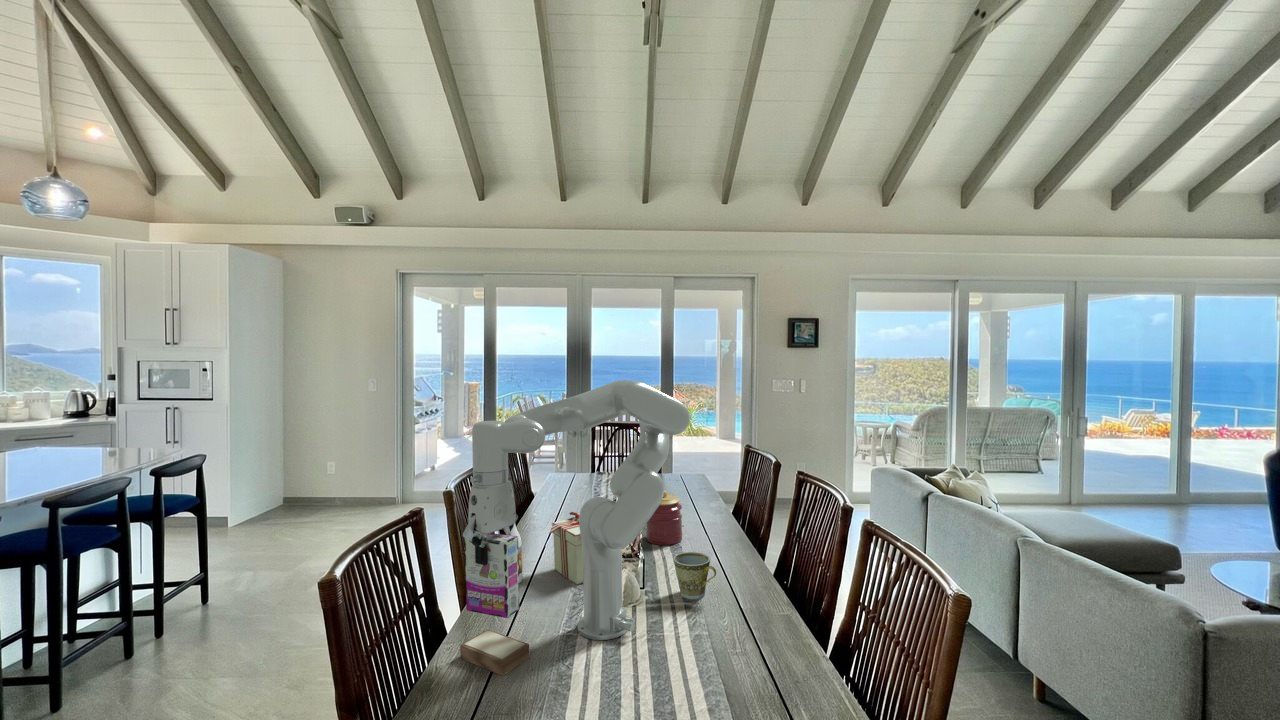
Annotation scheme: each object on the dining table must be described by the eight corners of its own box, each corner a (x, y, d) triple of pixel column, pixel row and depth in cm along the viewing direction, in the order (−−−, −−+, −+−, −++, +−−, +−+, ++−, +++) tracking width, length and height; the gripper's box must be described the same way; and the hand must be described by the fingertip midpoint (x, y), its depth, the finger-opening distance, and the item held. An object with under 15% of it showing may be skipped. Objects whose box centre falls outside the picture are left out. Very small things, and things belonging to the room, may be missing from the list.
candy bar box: (521, 609, 122) (519, 535, 122) (507, 619, 118) (505, 543, 117) (479, 601, 126) (478, 530, 126) (465, 610, 122) (463, 537, 121)
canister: (659, 531, 206) (658, 484, 206) (689, 537, 198) (688, 488, 198) (638, 541, 195) (638, 491, 195) (669, 548, 188) (668, 496, 188)
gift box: (542, 573, 169) (541, 517, 168) (591, 557, 181) (590, 505, 181) (573, 591, 156) (572, 530, 156) (624, 572, 168) (623, 516, 168)
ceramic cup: (666, 595, 152) (666, 559, 152) (689, 583, 159) (688, 549, 159) (705, 609, 143) (704, 571, 143) (726, 596, 151) (726, 560, 150)
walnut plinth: (529, 657, 122) (529, 643, 122) (502, 675, 115) (502, 660, 115) (488, 641, 129) (487, 628, 129) (460, 658, 122) (460, 644, 122)
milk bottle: (499, 589, 158) (497, 519, 157) (493, 579, 164) (491, 513, 164) (525, 583, 161) (524, 515, 161) (518, 574, 168) (517, 509, 168)
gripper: (471, 488, 112) (473, 576, 112) (530, 471, 127) (532, 550, 127) (447, 483, 116) (449, 569, 116) (507, 468, 131) (508, 544, 131)
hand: (492, 558), depth 122 cm, fingers closed on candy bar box, 5 cm apart
